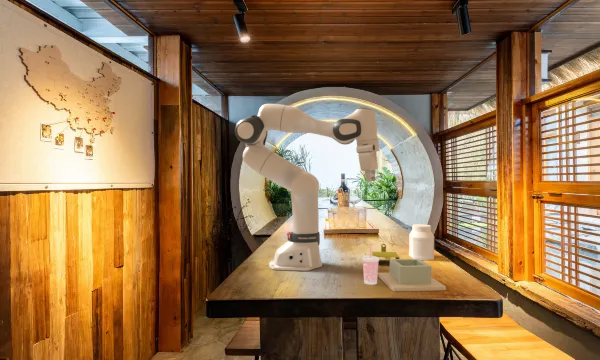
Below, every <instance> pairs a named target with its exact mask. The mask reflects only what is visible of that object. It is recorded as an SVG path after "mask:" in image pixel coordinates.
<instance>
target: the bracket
mask: <svg viewBox="0 0 600 360" xmlns="http://www.w3.org/2000/svg"><path fill="white" fill-rule="evenodd" d="M371 256H376V257H379V258H384V259H385V260H388V261H390V259H391V258H394V259H401V257H400V256H399V254H398V253H397V252H394V251H387V245H386V243H382V244H381V249H380V251H371Z"/></svg>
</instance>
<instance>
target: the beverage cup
mask: <svg viewBox="0 0 600 360" xmlns="http://www.w3.org/2000/svg"><path fill="white" fill-rule="evenodd" d="M361 261H362V266H363V267H362V268H363V269H362V271H363V283H364V284H366V285H372V286H373V285H377V284H378V273H379V262H380V257H376V256H372V243H369V255H363V256H362V257H361Z"/></svg>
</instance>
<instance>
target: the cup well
mask: <svg viewBox="0 0 600 360" xmlns="http://www.w3.org/2000/svg"><path fill="white" fill-rule="evenodd" d="M377 278H379V279H380V280H381V281H382V282H383V284H385V285H386V286H387V287H388V288H389V289H390V290H391V291H392V292H424V291H425V292H427V291H428V292H429V291H446V290H447V286H445V285H444V284H443V283H441V282H439V281H438V280H436V279H435V278H434V277H432V266H431V265H430V264H428V263H426V262H425V261H424V260H420V259H413V258H400V259H395V258H392V259H391V258H390V260H389V272H378V275H377Z"/></svg>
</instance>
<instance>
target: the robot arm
mask: <svg viewBox="0 0 600 360" xmlns="http://www.w3.org/2000/svg"><path fill="white" fill-rule="evenodd" d="M272 130H273V131H278V132H284V133H289V134H290V133H291V134H312V135H313V134H314V135H319V136H322V137H323V136H324V137H327V138H331V139H333V140H334V141H335V142H337V143H339V144H341V145H346V146H347V145H350V144H352V143H353V142H354V141H356V149H355V150H356V153H357V154H358V155H357V156H358V162H359V167H360V170H361V172H364V175H365V180H366V183H372V182H374V181H376V174H377V173H376V170H378V168H379V163H378V157H377V152H379V151H380V145H379V141H380V140H379V137H378V123H377V117H376V114H375V112H374V110H372V109H370V108H368V107H367V108H365V107H361V108H356V109H355V110H354V111H353V112H352V113H350V114H349V115H346V116H344V117H343V118H340V119H338V120H336V122H330V121H326V120H325V121H324V120H321V119H316V118H314V117H312V116H310V115H309V114H308V113H306V112H304V111H303V110H302V109H299V108H297V107H295V106H291V105H286V104H281V103H280V104H279V103H265V104H261V106H260V107H259V109H258V113H257V115H256V114H253V115H250V116H248V117H244V118H242V119H240V120H239V121H238V122H236V125H235V127H234V134H235V137H236V138H237V140H238V141H240V143H243V144H244V145H245V147H244V149H243V152H242V161H243V162H244V163H245V164H246V165H247V166H248V167H249V168H251V169H252V170H253V171H255V172H256V173H258V174H259V175H261V176H263V177H264V178H266V179H267V180H269V181H270V182H272V183H274V184H276V185H278V186H280V187H281V188H284V189H286V190H287V191H290V197H291V198H290V199H291V209H292V210H291V211H292V231H287V232H286V236H287V241H286V242H285V243H283V244H282V245H280V246H279V247H278V248H277V249H276V250H275V252H274V259H272V260H270V261H269V263H268V266H269V268H270V269H272V270H273V271H274V270H276V271H277V270H278V271H300V272H301V271H304V272H305V271H307V272H309V271H311V270H314V269H317V268H321V267H322V266H323V263H322V258H321V254H320V243H321V234H320V231H319V229H320V227H319V226H320V225H319V216H320V215H319V189H320V182H319V180H318V178H317V177H316V176H315V175H313V174H312V173H310V172H308V171H307V170H305V169H304V168H301V167H300V166H299V165H296V164H294V163H293V162H291V161H290V160H287V159H285V158H284V157H282V156H281V155H279V154H277V153H276V152H274V151H273V150H271V149H269V148H267V147H266V146H265V145H266V141H267V136H268V131H272Z"/></svg>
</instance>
